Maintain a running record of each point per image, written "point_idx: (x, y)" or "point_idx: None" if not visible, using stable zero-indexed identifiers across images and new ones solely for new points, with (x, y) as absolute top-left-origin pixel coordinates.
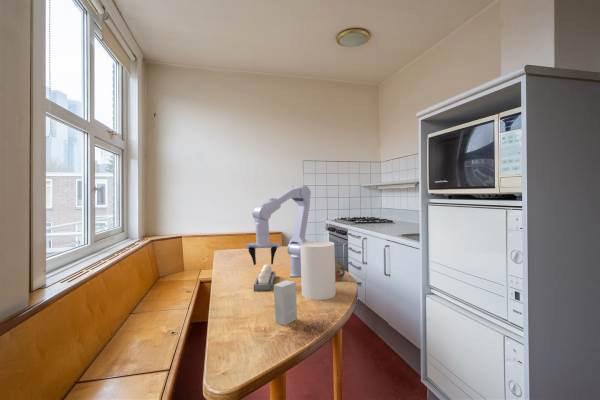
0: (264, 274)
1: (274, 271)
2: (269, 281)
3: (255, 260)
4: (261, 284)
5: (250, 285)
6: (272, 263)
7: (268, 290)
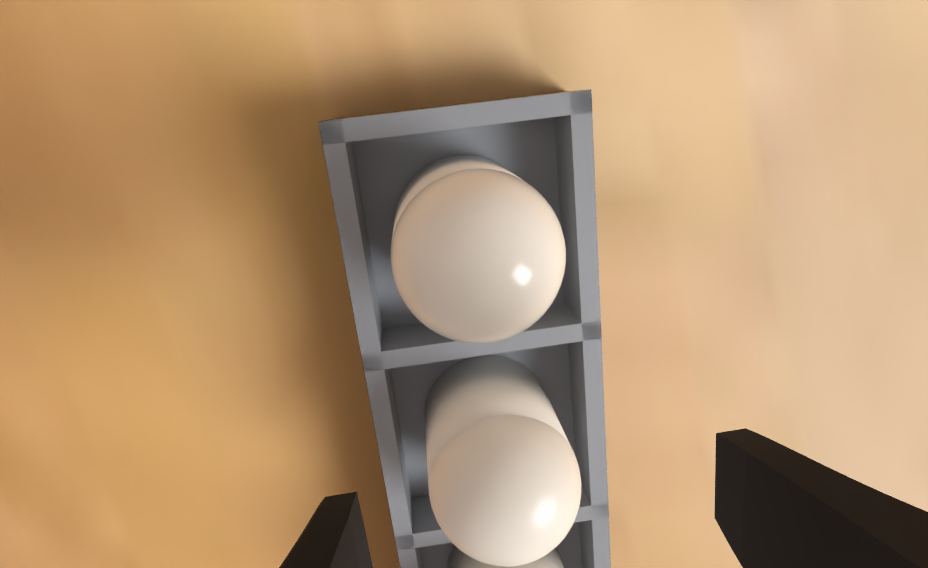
0: (451, 215)
1: None
2: (410, 339)
3: (766, 554)
4: (475, 117)
5: (651, 307)
6: (321, 506)
7: (372, 114)
